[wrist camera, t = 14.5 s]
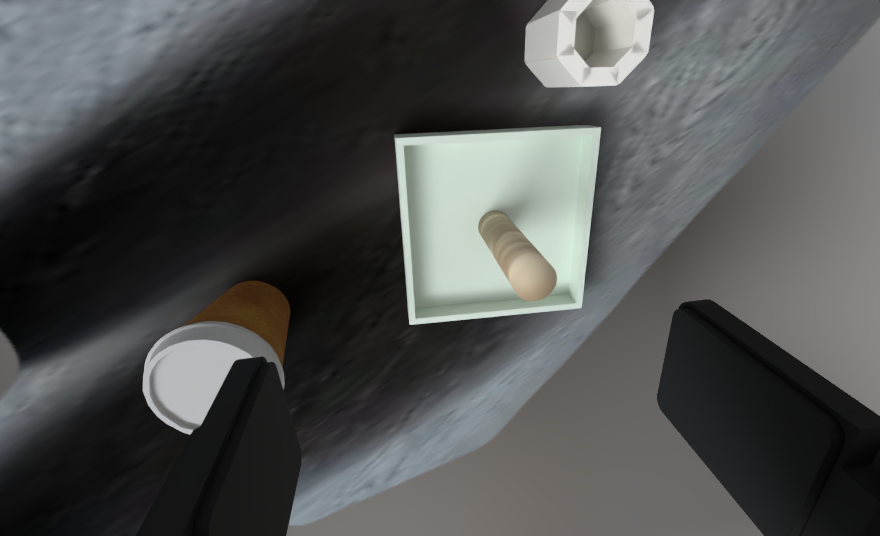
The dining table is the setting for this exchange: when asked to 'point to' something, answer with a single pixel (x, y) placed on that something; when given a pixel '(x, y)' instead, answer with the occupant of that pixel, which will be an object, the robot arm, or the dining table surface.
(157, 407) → the disposable coffee cup
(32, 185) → the dining table surface
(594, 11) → the cup holder
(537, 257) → the wooden pin
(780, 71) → the dining table surface
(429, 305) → the tray
